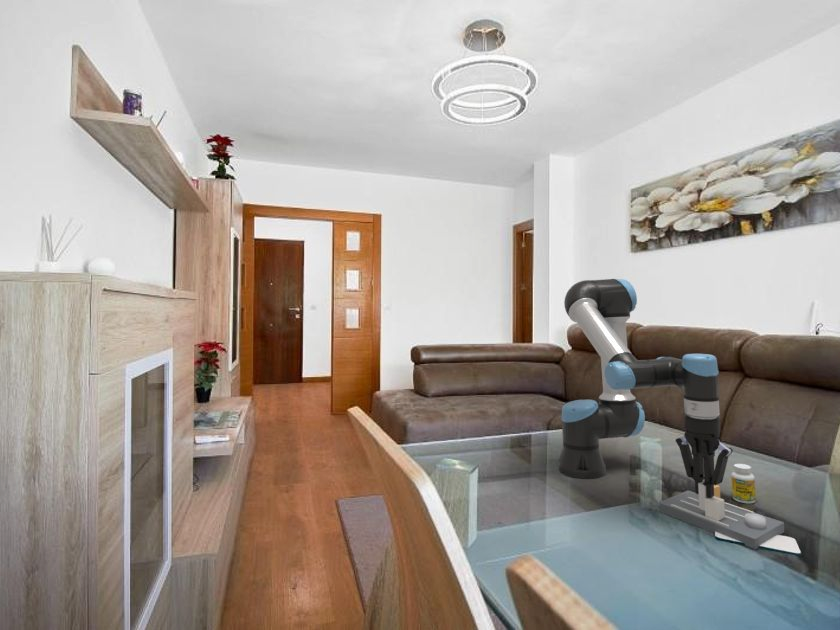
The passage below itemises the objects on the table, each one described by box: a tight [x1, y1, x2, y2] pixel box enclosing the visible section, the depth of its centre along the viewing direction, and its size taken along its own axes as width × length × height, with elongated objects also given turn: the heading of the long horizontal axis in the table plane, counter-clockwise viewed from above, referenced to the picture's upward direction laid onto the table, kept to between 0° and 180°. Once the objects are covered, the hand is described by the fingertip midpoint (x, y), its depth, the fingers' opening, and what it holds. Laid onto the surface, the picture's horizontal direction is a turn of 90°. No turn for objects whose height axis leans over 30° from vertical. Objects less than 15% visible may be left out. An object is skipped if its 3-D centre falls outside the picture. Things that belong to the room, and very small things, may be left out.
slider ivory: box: [705, 496, 725, 521], centre depth 112 cm, size 3×3×4 cm
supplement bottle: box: [730, 463, 757, 505], centre depth 126 cm, size 5×5×10 cm
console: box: [658, 489, 785, 551], centre depth 115 cm, size 23×14×4 cm, turn 29°
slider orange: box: [714, 484, 721, 498], centre depth 120 cm, size 3×3×4 cm
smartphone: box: [713, 531, 802, 556], centre depth 106 cm, size 8×1×16 cm
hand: (705, 508), depth 114 cm, fingers closed
